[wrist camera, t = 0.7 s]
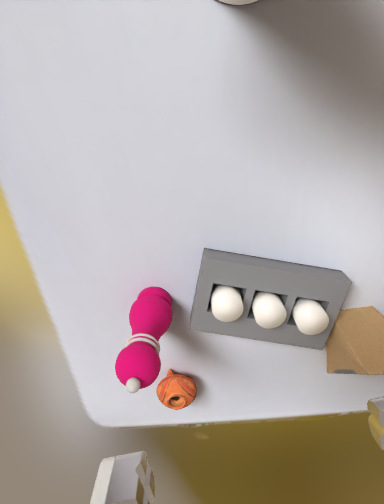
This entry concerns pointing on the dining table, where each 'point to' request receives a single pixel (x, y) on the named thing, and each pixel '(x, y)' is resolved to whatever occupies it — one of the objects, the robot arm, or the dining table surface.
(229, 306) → the ball
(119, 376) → the pepper mill
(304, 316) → the button container side
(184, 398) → the pot
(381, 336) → the sandwich container
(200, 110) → the dining table surface
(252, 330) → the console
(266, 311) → the button middle
